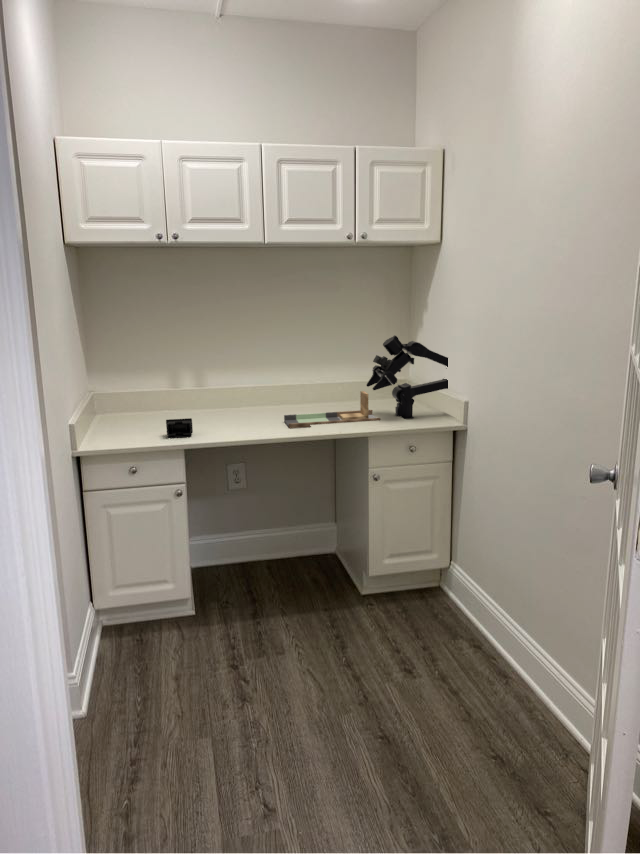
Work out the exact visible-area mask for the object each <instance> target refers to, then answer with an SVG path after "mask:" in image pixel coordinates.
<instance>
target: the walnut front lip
mask: <svg viewBox="0 0 640 854" xmlns="http://www.w3.org/2000/svg"><path fill="white" fill-rule="evenodd" d="M374 421H381V417H376V418H367V419H352V420H337V421H321V422H306V423H291V424H289V428H288V429H301V428H302V429H304V428H312V425H313V426H314V425H330V424H345V423H358V422H361V423H362V422H374Z"/></svg>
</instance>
